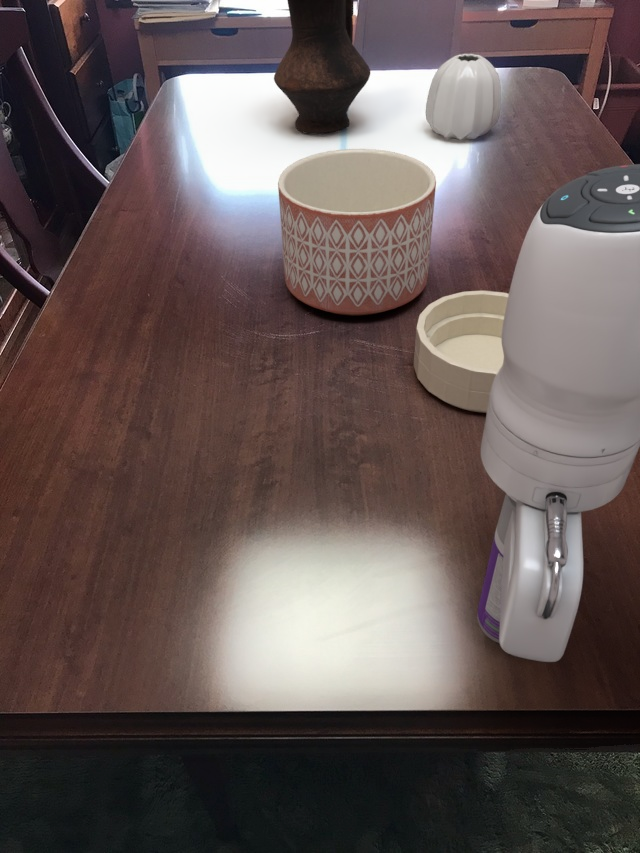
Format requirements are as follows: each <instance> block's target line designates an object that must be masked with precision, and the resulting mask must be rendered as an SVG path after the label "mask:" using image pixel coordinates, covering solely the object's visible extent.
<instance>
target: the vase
mask: <svg viewBox="0 0 640 853" xmlns="http://www.w3.org/2000/svg"><path fill="white" fill-rule="evenodd" d="M501 109H502V87H501V79H500V75H499V73H498V71H497V69H496V68H495V66H494V65H493V64H492V63H491V62H490V61H489V60H488V59H487V58H486V57H484V56H482V55H480V54H474V53H462V54H456V55H454V56H452V57H451V58H449V59H447V60H446V61H445V62H443V63H442V64H441V65H440V66H439V67H438V68H437V70H436V71H435V73H434V76H433V78H432V80H431V83H430V86H429V90H428V93H427V98H426V103H425V120H426V122H427V123H428V124H429V126H430V128H431V129H432V130H433V131H434V133H435V134H437V135H441V136H443V137H444V138H446V139H457V140H459V141H461V140H465V139H469V140H475V139H477V138H478V137H480V136H485V135H487V133H489V131H490V130H491V129H492V128H493V127H494V126H495V125H496V124H497V123H498V121H499V118H500V115H501Z"/></svg>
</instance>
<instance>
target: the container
mask: <svg viewBox="0 0 640 853" xmlns="http://www.w3.org/2000/svg"><path fill="white" fill-rule="evenodd" d="M512 510H514V511H515V512H516V502H515V501H514V500H513V499H511V498H510V497H509V496H508V495H507V494H506V493H505V495H504V498H503V502H502V506H501V510H500V514H499V518H498V521H497V524H496V528H495V532H494V535H493V540H492V545H491V548H490V549H491V550H490V553H489V558H488V563H487V567H486V570H485V571H486V572H485V576H484V580H483V584H482V589H481V593H480V598H479V602H478V607H477V611H476V619H477V624H478V626H479V628H480V630H481V631H482V632H483V634H484V635H485V636H486V637H488V638H489V639H490V640H491V641H493V642H495V643H497V644H500V642H499V629H500V611H501V593H502V575H503V557H504V540H505V536H506V533H507V529H508V525H509V521H510V518H511V514H512Z"/></svg>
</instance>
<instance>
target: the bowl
mask: <svg viewBox="0 0 640 853" xmlns="http://www.w3.org/2000/svg"><path fill="white" fill-rule="evenodd" d="M508 295H509V292H508V293H507V292H502V291H492V290H471V291H461V292H460V291H459V292H456V293H453V294H448V295H445V296H442V297H440V298H438V299H437V300H436V299H435V300H434V301H433V302H431V303H429V304H428V305H427V306H426V307H425V308H424V309H423V311H422V312H420V314H419V316H418V319H417V324H416V328H415V342H414V353H413V354H414V355H413V367H414V372H415V375H416V378H417V379H418V381H420V383H421V384H422V385H423V387H424V388H425V389H426V391H427V392H429V393H431V394H432V395H433V396H435V397H436V398H438V399H439V400H441V401H443V402H444V403H447V404H449V405H450V406H453V407H455V408H459V409H462V410H466V411H468V412H475V413H483V414H487V409H488V404H489V398H490V392H491V387H492V384H493V381H494V378H495V377H496V375H497V373H498V371H499V369H500V368H501V366H502V364H503V359H504V353H503V348H502V340H501V334H502V326H503V321H504V315H505V310H506V305H507V300H508Z"/></svg>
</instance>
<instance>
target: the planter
mask: <svg viewBox="0 0 640 853" xmlns="http://www.w3.org/2000/svg"><path fill="white" fill-rule="evenodd" d="M277 188H278V189H277V190H278V201H279V202H278V204H279V214H280V215H279V216H280V229H281V243H282V244H281V245H282V258H283V274H284V282H285V285H286V288H287V290H288V291H289V292H290V293H291V294H292V296H294V297H295V298H296V299H297V300H298V301H300V302H302V303H304V304H305V305H307V306H309V307H312V308H314V309H318V310H320V311H324V312H329V313H331V314H336V315H342V316H355V317H357V316H371V315H375V314H379V313H383V312H387V311H390V310H394V309H397V308H398V307H403V306H404V305H406V304H408V303H409V302H412V301H413V300H414V299H415V298H417V297H419V295H420V294H421V293H422V292H423V291H424V289H425V287H426V285H427V284H428V278H429V270H430V269H429V267H430V258H431V257H430V255H431V244H432V232H433V224H434V211H435V200H436V199H435V198H436V188H437V179H436V175H435V174H434V171H433V169H431V168H430V167H429V166H428V165H427V164H425V163H424V162H422V161H420V160H418V159H417V158H415V157H412V156H409V155H407V154H403V153H400V152H395V151H390V150H382V149H376V148H347V149H346V148H345V149H335V150H328V151H323V152H319V153H315V154H312V155H309V156H305V157H302V158H299V159H298V160H296V161H294V162H293V163H291V164H289V165H288V166H287V167H286V168H284V170H282V172H281V173H280V175H279V177H278V181H277Z"/></svg>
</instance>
